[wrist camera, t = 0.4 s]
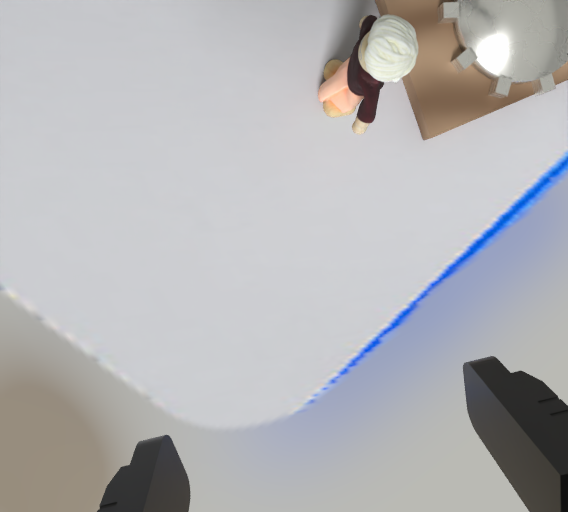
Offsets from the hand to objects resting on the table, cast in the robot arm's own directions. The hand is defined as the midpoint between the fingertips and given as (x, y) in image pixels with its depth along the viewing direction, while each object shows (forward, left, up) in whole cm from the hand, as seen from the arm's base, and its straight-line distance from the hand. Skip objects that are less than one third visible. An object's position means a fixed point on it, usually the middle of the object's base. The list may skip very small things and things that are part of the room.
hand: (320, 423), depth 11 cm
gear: (-11, +27, -23) cm, 37 cm away
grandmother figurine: (-11, +11, -25) cm, 30 cm away
